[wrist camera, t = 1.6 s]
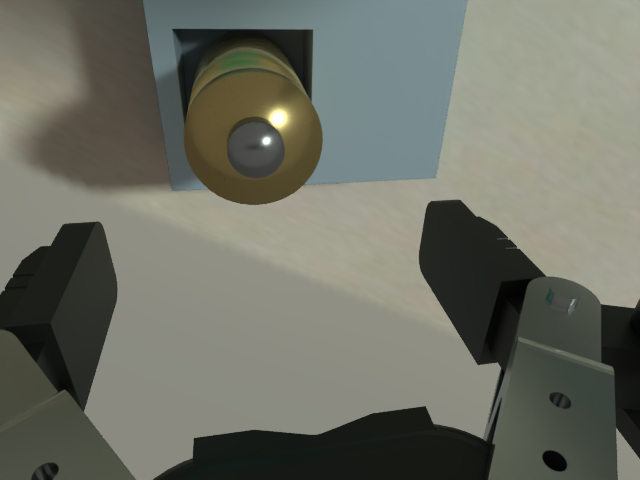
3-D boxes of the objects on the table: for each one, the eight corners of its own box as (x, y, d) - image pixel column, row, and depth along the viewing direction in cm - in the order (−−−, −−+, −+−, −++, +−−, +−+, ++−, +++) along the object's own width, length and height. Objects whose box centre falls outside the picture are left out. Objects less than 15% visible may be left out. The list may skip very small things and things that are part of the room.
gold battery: (189, 29, 22) (172, 78, 15) (293, 30, 23) (329, 77, 15) (200, 131, 25) (190, 218, 17) (293, 128, 26) (324, 210, 18)
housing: (150, -45, 22) (136, -42, 18) (434, -37, 24) (473, -32, 20) (178, 156, 27) (171, 190, 24) (409, 147, 30) (435, 178, 26)
